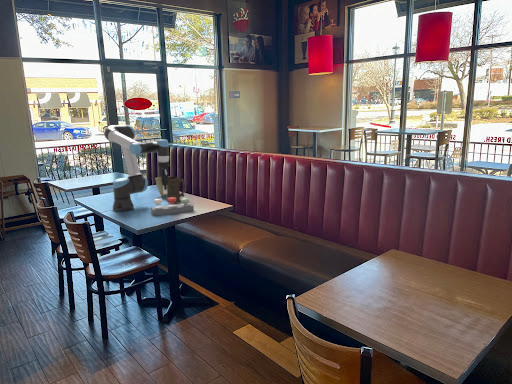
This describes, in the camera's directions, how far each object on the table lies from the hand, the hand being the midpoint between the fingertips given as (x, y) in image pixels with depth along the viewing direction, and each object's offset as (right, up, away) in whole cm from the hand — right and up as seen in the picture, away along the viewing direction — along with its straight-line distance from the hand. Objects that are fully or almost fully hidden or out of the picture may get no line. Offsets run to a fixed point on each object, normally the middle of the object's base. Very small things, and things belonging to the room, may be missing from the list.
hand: (165, 193), depth 269 cm
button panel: (+4, -13, +4) cm, 14 cm away
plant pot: (-15, -2, +60) cm, 62 cm away
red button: (+4, -7, +3) cm, 9 cm away
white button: (-5, -8, -1) cm, 9 cm away
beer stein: (-1, -6, +41) cm, 41 cm away
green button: (+13, -8, +7) cm, 17 cm away
